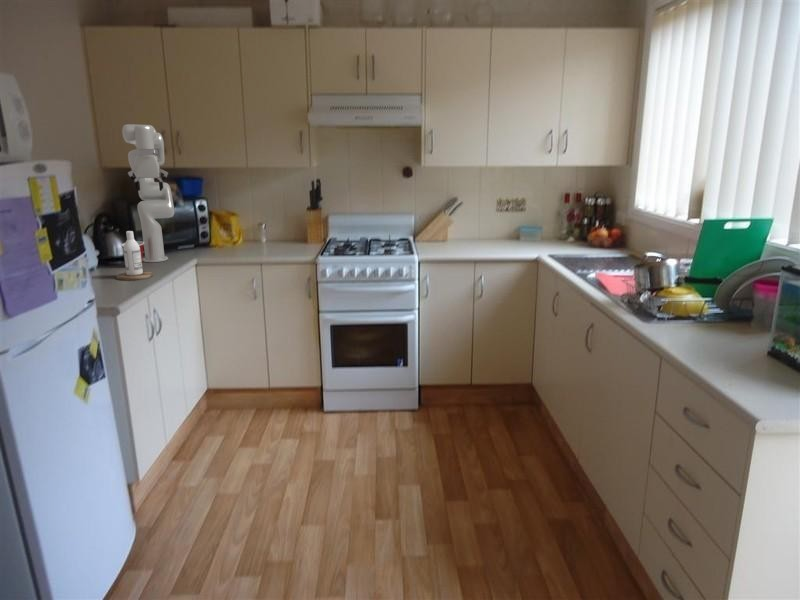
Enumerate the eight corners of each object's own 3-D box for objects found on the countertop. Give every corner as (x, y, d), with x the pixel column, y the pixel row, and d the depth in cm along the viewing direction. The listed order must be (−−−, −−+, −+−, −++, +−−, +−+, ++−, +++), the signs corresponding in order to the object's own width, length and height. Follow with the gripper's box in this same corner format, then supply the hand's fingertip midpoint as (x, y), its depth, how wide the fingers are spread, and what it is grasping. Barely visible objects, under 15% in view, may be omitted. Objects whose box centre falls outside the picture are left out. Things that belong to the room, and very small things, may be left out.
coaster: (119, 274, 261) (119, 271, 260) (154, 272, 265) (153, 269, 265) (114, 281, 247) (114, 278, 247) (150, 279, 251) (150, 276, 251)
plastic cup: (118, 267, 275) (115, 243, 272) (136, 263, 285) (133, 240, 282) (134, 269, 271) (131, 245, 268) (151, 265, 281) (149, 242, 277)
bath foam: (145, 272, 260) (140, 230, 254) (139, 275, 253) (134, 232, 247) (129, 272, 259) (124, 230, 253) (124, 275, 252) (118, 232, 247)
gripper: (166, 152, 260) (170, 189, 265) (127, 152, 256) (131, 189, 261) (164, 153, 253) (168, 191, 258) (123, 153, 249) (128, 191, 254)
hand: (150, 190), depth 260 cm, fingers open, 9 cm apart
